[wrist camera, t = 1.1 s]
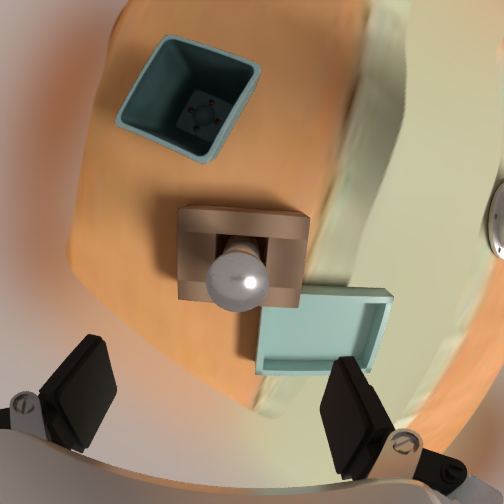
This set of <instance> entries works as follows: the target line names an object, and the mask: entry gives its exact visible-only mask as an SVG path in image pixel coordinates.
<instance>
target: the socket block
mask: <svg viewBox="0 0 504 504" xmlns="http://www.w3.org/2000/svg"><path fill="white" fill-rule="evenodd" d="M309 225H310V217H308V216H307V215H305V214H304V213H302V212H292V211H280V210H268V209H255V208H241V207H225V206H208V205H186V206H183V207H181V208H178V233H177V275H178V300H188V301H198V302H209V303H215V302H214V301H213V300H212V299H211V297H210V296H209V294H208V291H207V288H206V276H207V273H208V270H209V268H210V266H211V264H212V263H213V261H214V260H215V259H216V258H217V257H219V253H220V234H229V235H243V236H257V237H266V242H265V254H264V266H265V267H266V270H267V273H268V278H269V288H268V292H267V295H266V297H265V298H264V300H263V301H262V302H261V303H260V304H259V305H258V306H263V307H281V308H299V301H300V294H301V287H302V280H303V273H304V266H305V258H306V250H307V242H308V234H309Z"/></svg>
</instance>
